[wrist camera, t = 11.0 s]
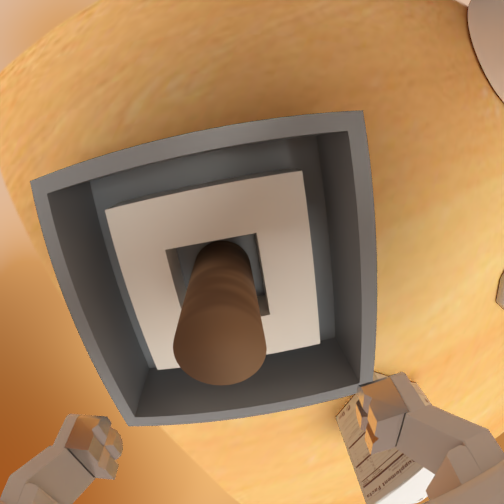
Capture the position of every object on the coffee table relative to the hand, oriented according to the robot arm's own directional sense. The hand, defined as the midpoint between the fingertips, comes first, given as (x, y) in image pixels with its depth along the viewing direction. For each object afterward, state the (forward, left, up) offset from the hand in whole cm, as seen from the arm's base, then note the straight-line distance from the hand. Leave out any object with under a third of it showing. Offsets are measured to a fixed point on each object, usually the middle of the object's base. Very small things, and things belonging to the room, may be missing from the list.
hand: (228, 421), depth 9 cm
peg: (0, 0, -14) cm, 14 cm away
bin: (+1, 0, -15) cm, 15 cm away
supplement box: (-12, +19, -16) cm, 28 cm away
